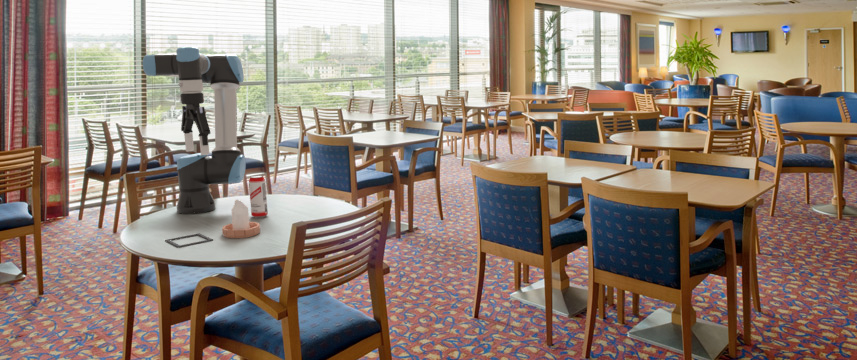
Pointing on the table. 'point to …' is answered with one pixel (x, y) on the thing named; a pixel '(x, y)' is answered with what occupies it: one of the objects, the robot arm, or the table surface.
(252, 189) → the beer can
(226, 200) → the table surface
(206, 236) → the dark grey square frame
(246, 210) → the white tapered upright piece
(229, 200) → the table surface
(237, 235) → the bowl
